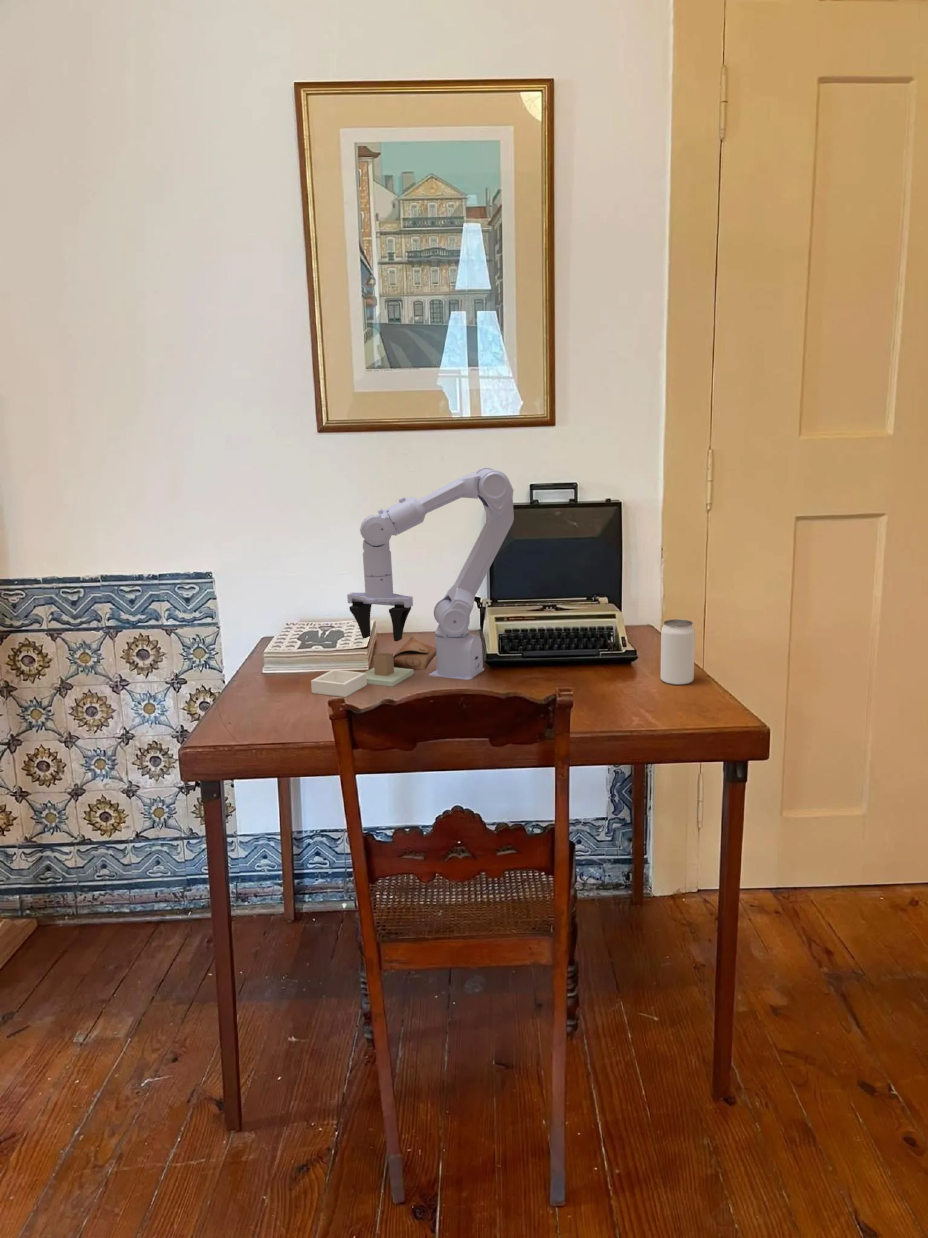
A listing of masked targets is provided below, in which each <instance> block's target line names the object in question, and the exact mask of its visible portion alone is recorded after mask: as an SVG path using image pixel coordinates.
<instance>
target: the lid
mask: <svg viewBox="0 0 928 1238" xmlns="http://www.w3.org/2000/svg"><path fill="white" fill-rule="evenodd" d="M393 657H394V653H387V652H379V653H377V654H376V655H374V656H373V667H372V668H370V669H368V670H366V671H364V672H363V673H366V679H367V685H374V684H376V685H375V686H382V685H384V686H385V687H391V686H393V687H395V686H396V685H398V684H399V682H400V683H402V682H404V681H405V680H407V679H409V678H410V677H411V675H412V676H413V675H414V674H415V673H414V669H405V668H395V667H394V659H393ZM409 676H410V677H409ZM404 679H405V680H404ZM394 685H395V686H394Z"/></svg>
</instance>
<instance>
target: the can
mask: <svg viewBox="0 0 928 1238" xmlns="http://www.w3.org/2000/svg"><path fill="white" fill-rule="evenodd" d="M693 624H694V622H693V621H691V620H688V619H678V618H677V619H668V620H664V621H663V626H662V628H661V631H660V632H661V634H660V680H661V681H662V682H663V683H665V684H667V685H672V686H673V685H674V686H684V685H685V686H686V685H689V684H691V683H692V682H693V681H694V679H695V677H694V675H695V636H696V635H695V633H696V632H695V628H694V626H693Z"/></svg>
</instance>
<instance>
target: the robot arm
mask: <svg viewBox="0 0 928 1238" xmlns="http://www.w3.org/2000/svg"><path fill="white" fill-rule="evenodd" d="M513 496H514V488H513V486H512V484H511V482H510V479H509V477H508V476H507V475H506V474H505V473H504V472H502V471H500V470H496V469H494V468H491V467H483V468H479V469H478V470H477V471H476V472H469V473H467V474H465V475H462V476H459V477H458V478H456V479H454V480H452V481H450V482H448V483H447V484H444V486H441V487H439V488H438V489H435V490H434V491H432V492H431V493H429V494H427V495H425V496H422V497H421V498H419V499H418V498H415V497H413V496H409V497H407V498H406V497H405V496H402V497H400V498H399V499H398V502H396V503H395V504H392V505H391V506H389V507H387V508H385V509H383V508H380V509H378V510H377V513H378V514H370V515H368V516H366V517H365V518H364V519H363V521H362V522H361V525H360V528H359V533H360V535H361V537H362V538H363V539H364V540H363V542H362V549H363V552H362V561H363V574H364V576H363V578H364V592H350V593H347V595H346V596H347V604H351V606H349V611H350V612H351V614H352V616H353V617H354V619H355V621H356V623H357V625H358V627H359V631H360V634H361V637H362V639H367V638H369V637H371V631H372V630H371V612H372V611H371V610H372V605H376V606H377V605H380V606H393V607H391V608H389V609H388V613H389V615H390V616H389V617H390V619H391V624H392V634H393V635H392V636H393V641H394V642H399V641H401V640H402V639H403V633H404V629H405V624H406V621H407V619H408V616H409V614H410V612H411V610H412V607H413V606H414V599H413V598H414V597H413V596H411V595H410V596H409V595H403V594H397V593H394V586H393V585H394V582H393V565H392V562H393V561H392V552H391V550H390V547H391V546H390V540H391V538H392V536H398V535H400V534H402V533H404V532H406V531H408V530H410V529H412V528H415V527H416V526H418V525H420V524H422V523H424V521H425V517H426V515H427V514H429V513H430V512H432V511H436V510H437V509H439V508H442V507H444V506H446V505H448V504H450V503H453V502H454V501H457V500H460V499H463V498H465V499H474V500H478V499H479V500H480V502H481V503H482V505H483V508H484V512H485V514H486V516H487V519H486V520H485V523H484V525H483V528H482V529H481V531H480V533H479V535H478V537H477V538H476V541H475V543H474V545H473V547H472V549H471V550H470V553H469V555H468V556H467V559H466V561H465V563H464V565H463V566H462V569H461V570H460V572H459V574H458V576H457V578H456V580H455V581H454V584H453V585H452V586H451V587H450V588H449V589H448V590H447V592H446V594H445V595H444V597H443V598H442V599H441V600H439V601H438V602H437V603H436V604H435V606H434V609H433V617H434V620H435V621H436V623H438V626H437V628H436V629H435V631H434V636H435V637H434V639H435V641H434V642H435V648H436V655H435V659H436V661H435V662H436V670H434V671H432V672H431V673H429V677H438V678H447V679H456V680H465V681H466V680H467V681H470V680H471V679H473V678H475V677H476V676H477V675H479V674H480V673H482V672H483V671H484V670H485V668H484V666H483V665H484V663H483V643H482V638H481V637H480V636H479V635H476V634H472V633H470V629H469V626H470V619H471V617H470V616H471V614H472V611H473V609H474V604H475V598H476V597H475V596H476V595H477V593H478V592H479V589H480V587H481V586H482V584H483V581H484V580H485V578H486V576H487V574H488V572H489V570H490V568H491V566H492V564H493V562H494V560H495V558H496V557H497V554H498V553H499V550H500V549H501V547H502V544H503V542H504V541H505V539H506V537H507V535H508V532H509V531H510V529H511V527H512V526H513V523H514V521H515V517H514V516H515V514H514V513H515V511H514V500H513V498H514V497H513Z"/></svg>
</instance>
